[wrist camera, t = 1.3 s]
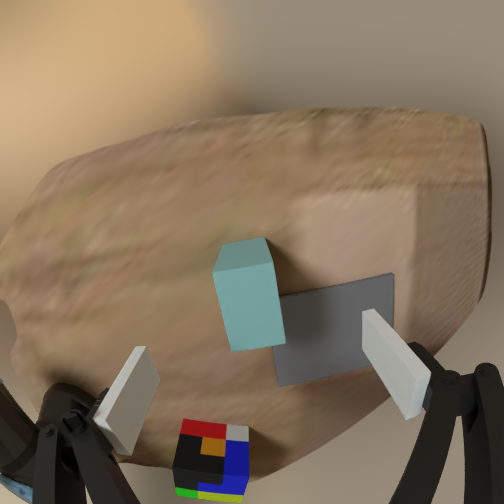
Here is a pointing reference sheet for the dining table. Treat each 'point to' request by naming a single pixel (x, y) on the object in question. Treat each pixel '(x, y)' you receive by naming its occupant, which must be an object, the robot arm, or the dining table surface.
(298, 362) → the rubber mat
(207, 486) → the puzzle toy
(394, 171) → the dining table surface
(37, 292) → the dining table surface
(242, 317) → the teal block
